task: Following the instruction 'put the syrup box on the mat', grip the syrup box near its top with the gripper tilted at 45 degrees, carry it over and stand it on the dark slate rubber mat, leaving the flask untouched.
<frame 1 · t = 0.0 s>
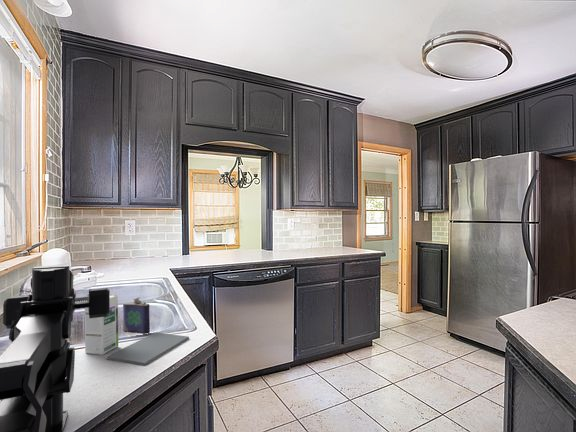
hand: (66, 298, 76), 17 cm above the counter, tool horizontal, fingers open, 9 cm apart
slate mat: (150, 348, 87), on the counter
flask: (136, 332, 100), on the counter
syrup box: (101, 350, 86), on the counter
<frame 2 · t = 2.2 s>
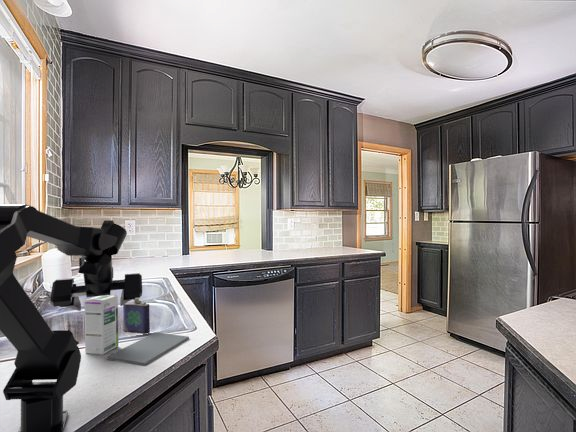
hand: (101, 306, 82), 13 cm above the counter, tool tilted 45°, fingers open, 9 cm apart
nothing on the counter moved.
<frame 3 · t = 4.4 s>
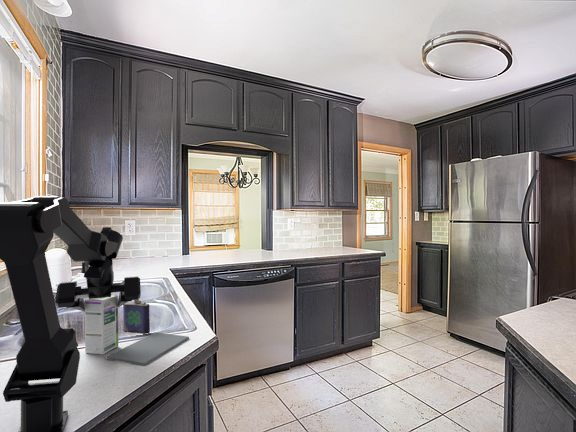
hand: (102, 307, 88), 11 cm above the counter, tool tilted 45°, fingers closed on syrup box, 8 cm apart
syrup box: (101, 350, 86), on the counter, touching gripper
everything else where it was.
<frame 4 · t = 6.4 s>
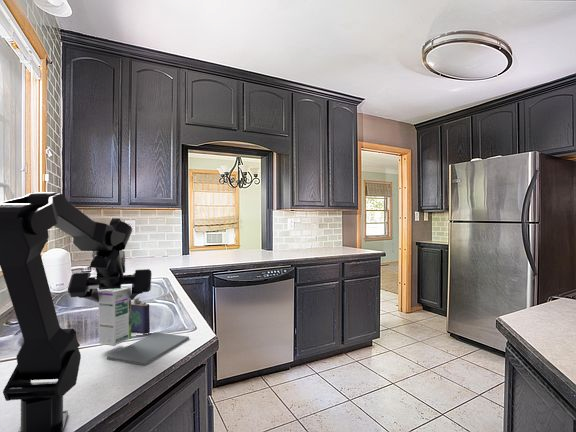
hand: (116, 299, 88), 13 cm above the counter, tool tilted 45°, fingers closed on syrup box, 8 cm apart
syrup box: (114, 342, 87), point 2 cm above the counter, touching gripper
everything else where it was.
when the fingers open (12 cm above the counter, at t = 8.7 s): syrup box stays where it is, resting on slate mat.
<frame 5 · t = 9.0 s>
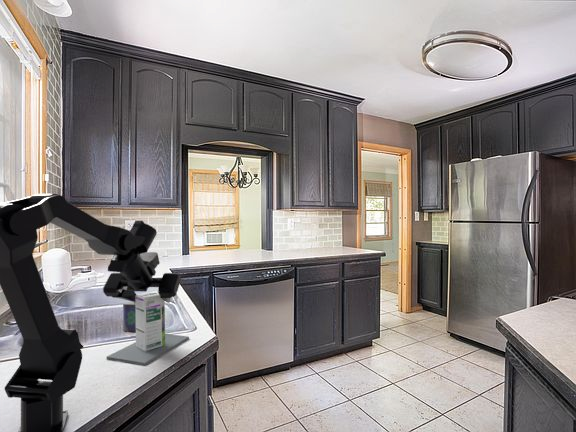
hand: (153, 301, 89), 13 cm above the counter, tool tilted 45°, fingers open, 9 cm apart
syrup box: (150, 346, 87), resting on slate mat
everything else where it was.
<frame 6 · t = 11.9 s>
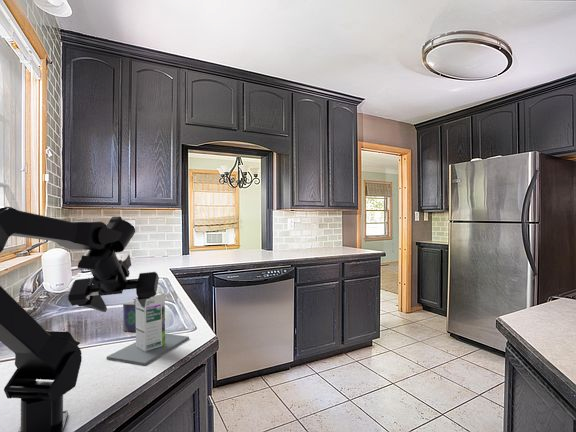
hand: (125, 308, 80), 13 cm above the counter, tool tilted 40°, fingers open, 9 cm apart
nothing on the counter moved.
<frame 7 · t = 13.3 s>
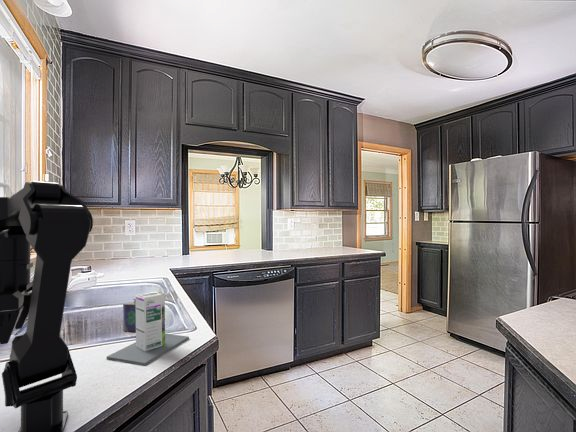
hand: (11, 335, 64), 12 cm above the counter, tool pointing down, fingers open, 9 cm apart
nothing on the counter moved.
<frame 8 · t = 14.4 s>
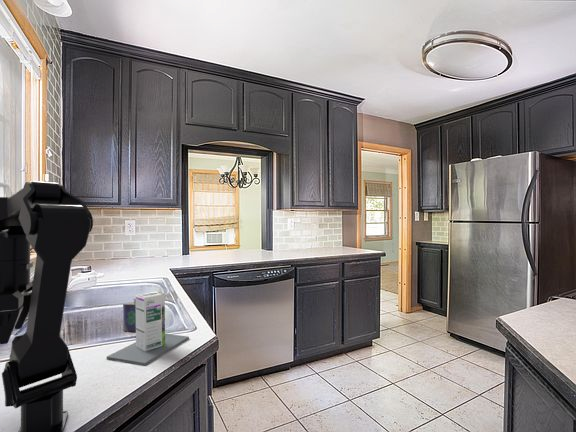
hand: (11, 335, 64), 12 cm above the counter, tool pointing down, fingers open, 9 cm apart
nothing on the counter moved.
at the end: syrup box inside the target area on the slate mat (0.2 cm from its centre), point 0.4 cm above the slate mat's base; syrup box tilted 0°; flask moved 0.3 cm from its start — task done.
